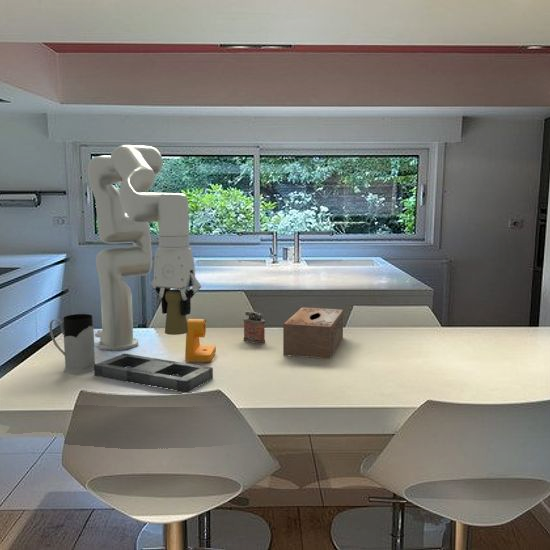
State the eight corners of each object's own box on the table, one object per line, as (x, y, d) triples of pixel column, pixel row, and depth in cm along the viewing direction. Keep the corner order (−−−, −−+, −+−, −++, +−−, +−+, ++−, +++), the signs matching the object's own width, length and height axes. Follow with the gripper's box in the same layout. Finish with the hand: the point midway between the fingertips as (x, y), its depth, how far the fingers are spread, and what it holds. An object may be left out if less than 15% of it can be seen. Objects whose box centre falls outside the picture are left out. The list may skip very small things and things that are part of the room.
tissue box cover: (330, 359, 163) (330, 326, 162) (283, 355, 167) (283, 323, 166) (342, 338, 188) (343, 309, 186) (301, 335, 192) (301, 307, 190)
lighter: (267, 342, 182) (267, 312, 180) (261, 344, 179) (261, 314, 178) (247, 338, 186) (247, 309, 185) (241, 340, 183) (241, 311, 182)
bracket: (210, 364, 158) (209, 323, 156) (185, 363, 158) (184, 323, 157) (216, 353, 168) (215, 315, 167) (193, 353, 169) (192, 315, 167)
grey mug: (82, 376, 147) (80, 321, 145) (41, 370, 152) (37, 317, 150) (103, 366, 155) (101, 314, 153) (63, 361, 160) (60, 311, 158)
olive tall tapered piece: (177, 335, 137) (176, 292, 135) (159, 332, 140) (158, 290, 138) (193, 331, 142) (192, 289, 140) (175, 328, 145) (174, 287, 143)
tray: (94, 375, 148) (93, 364, 147) (124, 363, 158) (124, 353, 158) (186, 392, 135) (186, 381, 134) (212, 378, 145) (212, 367, 145)
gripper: (137, 242, 138) (140, 313, 141) (193, 245, 131) (195, 319, 133) (156, 240, 145) (158, 308, 147) (211, 242, 137) (212, 313, 140)
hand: (176, 312), depth 140 cm, fingers closed on olive tall tapered piece, 5 cm apart
